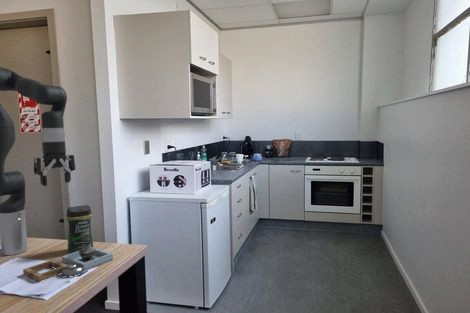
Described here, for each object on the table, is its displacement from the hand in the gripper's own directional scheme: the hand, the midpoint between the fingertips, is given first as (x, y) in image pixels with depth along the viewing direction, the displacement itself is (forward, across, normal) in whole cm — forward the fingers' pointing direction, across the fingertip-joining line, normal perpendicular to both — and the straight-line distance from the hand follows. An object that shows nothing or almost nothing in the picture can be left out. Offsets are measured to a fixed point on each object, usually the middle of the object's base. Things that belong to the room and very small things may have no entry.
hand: (56, 184), depth 128 cm
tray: (+30, -6, +8) cm, 32 cm away
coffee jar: (+30, -12, -6) cm, 33 cm away
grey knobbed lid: (+30, +3, +13) cm, 33 cm away
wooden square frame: (+30, +8, +5) cm, 32 cm away
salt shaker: (+30, -6, +8) cm, 31 cm away
